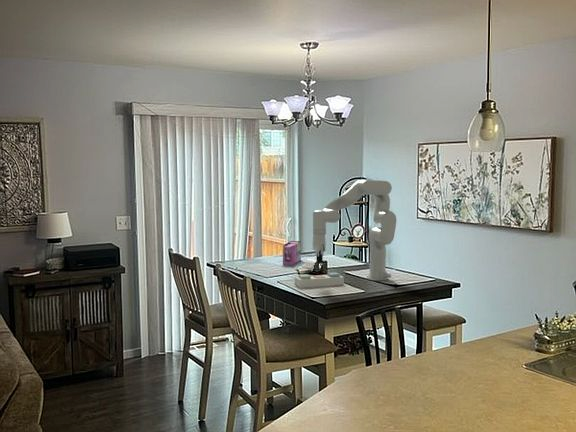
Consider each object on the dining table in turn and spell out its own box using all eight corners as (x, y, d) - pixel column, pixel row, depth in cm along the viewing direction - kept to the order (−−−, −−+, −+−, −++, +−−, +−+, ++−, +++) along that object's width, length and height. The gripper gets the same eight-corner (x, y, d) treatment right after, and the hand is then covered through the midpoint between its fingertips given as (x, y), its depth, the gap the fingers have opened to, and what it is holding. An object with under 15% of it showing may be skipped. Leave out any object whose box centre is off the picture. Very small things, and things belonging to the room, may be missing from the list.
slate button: (336, 277, 334) (336, 272, 334) (339, 279, 329) (339, 274, 329) (327, 277, 333) (327, 272, 333) (331, 279, 328) (331, 274, 327)
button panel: (337, 281, 337) (337, 274, 337) (343, 284, 328) (343, 277, 328) (294, 284, 329) (294, 276, 329) (299, 287, 321) (299, 280, 320)
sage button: (307, 279, 329) (307, 274, 329) (310, 281, 324) (310, 276, 324) (298, 279, 328) (298, 274, 327) (301, 281, 323) (301, 276, 322)
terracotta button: (322, 280, 332) (322, 275, 332) (325, 282, 327) (325, 277, 327) (313, 280, 330) (313, 275, 330) (316, 282, 325) (316, 277, 325)
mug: (313, 269, 373) (313, 257, 372) (323, 272, 365) (323, 260, 364) (299, 271, 367) (299, 259, 366) (308, 274, 358) (308, 262, 357)
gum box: (293, 265, 388) (293, 246, 387) (282, 265, 390) (282, 245, 389) (301, 259, 411) (301, 241, 410) (290, 259, 413) (290, 240, 412)
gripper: (309, 230, 332) (309, 261, 334) (317, 233, 317) (317, 265, 319) (321, 229, 334) (321, 260, 336) (330, 233, 320) (330, 264, 322)
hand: (319, 262), depth 328 cm, fingers closed
